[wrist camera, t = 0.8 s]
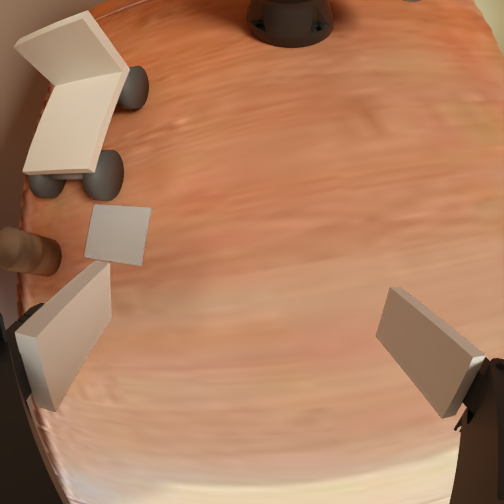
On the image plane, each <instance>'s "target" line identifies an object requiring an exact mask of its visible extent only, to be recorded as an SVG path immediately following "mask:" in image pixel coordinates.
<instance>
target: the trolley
mask: <svg viewBox="0 0 504 504" xmlns="http://www.w3.org/2000/svg"><path fill="white" fill-rule="evenodd" d="M14 48H15V49H16V50H17V51H18V52H19V53H20V54H21V55H22V56H23V57H24V58H25V59H26V60H28V61H29V62H30V63H31V64H32V65H33V66H34V67H35V68H36V69H37V70H38V71H39V72H40V73H41V74H42V75H44V76H45V77H46V78H47V79H48V80H49V81H50V82H51V83H52V84H53V85H54V86H55V88H54V90H53V92H52V94H51V96H50V99H49V101H48V103H47V105H46V108H45V110H44V113H43V115H42V117H41V120H40V122H39V125H38V128H37V130H36V133H35V136H34V138H33V141H32V144H31V147H30V150H29V153H28V156H27V159H26V163H25V165H24V168H23V173H25V174H27V175H28V182H29V187H30V189H31V191H32V193H33V194H34V195H35V196H37V197H39V198H54V197H56V196H58V195H59V194H60V193H61V191H62V190H63V188H64V185H65V182H66V179H83V186H84V189H85V192H86V193H87V195H88V196H89V197H90V198H91V199H94V200H112V199H114V198H115V197H116V196H117V195H118V193H119V192H120V189H121V187H122V183H123V178H124V167H123V162H122V159H121V157H120V155H119V154H118V153H117V152H116V151H114V150H101V149H102V145H103V142H104V139H105V136H106V133H107V130H108V127H109V124H110V121H111V118H112V115H113V112H114V109H115V107H116V104H117V105H118V106H119V107H120V108H121V109H124V110H126V109H137V108H141V107H142V106H143V105H144V104H145V102H146V100H147V97H148V92H149V82H148V77H147V74H146V72H145V70H144V69H143V68H142V67H140V66H134V67H128V66H127V64H126V63H125V62H124V60H123V59H122V57H121V56H120V55H119V53H118V52H117V50H116V49H115V48H114V46H113V45H112V43H111V42H110V40H109V39H108V38H107V36H106V35H105V33H104V32H103V31H102V29H101V28H100V26H99V25H98V24H97V22H96V21H95V19H94V18H93V17H92V15H91V14H90V12H89V11H85V12H82V13H79V14H76V15H74V16H71V17H68V18H66V19H63V20H61V21H58V22H56V23H53V24H51V25H49V26H46V27H44V28H42V29H39V30H37V31H35V32H33V33H31V34H29V35H27V36H25V37H23V38H20V39H19V40H18V41H17V43H16V44H15V46H14Z"/></svg>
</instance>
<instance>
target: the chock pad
mask: <svg viewBox="0 0 504 504" xmlns="http://www.w3.org/2000/svg"><path fill="white" fill-rule="evenodd" d="M151 210H152V208H147V207H132V206H115V205H97V204H94V207H93V212H92V216H91V221H90V226H89V231H88V237H87V242H86V248H85V254H84V257H85V258H91V259H98V260H104V261H110V262H117V263H123V264H130V265H137V266H142V262H143V255H144V249H145V243H146V237H147V232H148V226H149V221H150V216H151Z"/></svg>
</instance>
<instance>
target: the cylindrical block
mask: <svg viewBox="0 0 504 504" xmlns="http://www.w3.org/2000/svg"><path fill="white" fill-rule="evenodd" d="M60 263H61V249H60V246H59V244H58V243H57V242H56V241H55V240H53V239H49V238H46V237H42V236H39V235H36V234H32V233H29V232H26V231H22V230H19V229H16V228H12V227H9V226H8V227H5V228H3V229H2V230H1V231H0V269H2V270H9V271H15V272H21V273H28V274H34V275H41V276H51V275H53V274H54V273H55V272H56V271H57V270H58V268H59V266H60Z"/></svg>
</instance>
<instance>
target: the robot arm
mask: <svg viewBox="0 0 504 504" xmlns="http://www.w3.org/2000/svg"><path fill="white" fill-rule="evenodd" d="M404 1H408V2H418V1H420V0H404ZM247 22H248V27H249V29H250V31H251V33H252V34H253V35H254V36H255V37H256V38H258V39H260V40H261V41H263V42H266V43H268V44H271V45H275V46H281V47H304V46H309V45H313V44H316V43H318V42H321V41H322V40H324V39H326V38H327V37H328V36H329V35H330V34H331V32H332V30H333V25H334V14H333V11H332V8H331V5H330V2H329V0H250V3H249V7H248V11H247ZM111 319H112V310H111V288H110V262H102V261H93V262H92V263H91V264H90V265H89V266H87V267H86V268H85V269H84V270H83V271H82V272H80V273H79V274H78V275H77V276H76V277H75V278H73V279H72V280H71V281H70V282H69V283H68V284H66V285H65V286H64V287H63V288H62V289H61V290H60V291H58V292H57V293H56V294H55V295H54V296H53V297H52V298H51V299H50V300H48V301H47V302H46V303H45V304H44V303H40V304H38V305H36V306H33V307H31V308H30V309H29V310H28V311H27V312H25V313H24V315H22V316H21V317H20V318H19V319H18V321H15V322H14V323H13V324H12V325H11V326H10V327H9V328H8V329H7V330H6V331H5V327H4V322H3V317H2V315H1V313H0V504H70V502H69V501H68V499H67V497H66V495H65V493H64V491H63V489H62V487H61V485H60V483H59V481H58V479H57V477H56V475H55V473H54V471H53V468H52V466H51V464H50V462H49V459H48V457H47V455H46V452H45V450H44V448H43V445H42V443H41V440H40V438H39V435H38V432H37V430H36V427H35V424H34V421H33V418H32V416H31V413H30V410H29V407H28V404H27V401H26V400H27V398H28V397H29V395H30V394H31V393H32V396H33V399H34V402H35V404H36V406H37V407H40V408H44V409H47V410H50V411H53V412H56V411H57V409H58V407H59V405H60V404H61V402H62V400H63V398H64V397H65V395H66V393H67V391H68V389H69V388H70V386H71V384H72V382H73V381H74V379H75V377H76V376H77V374H78V372H79V371H80V369H81V367H82V365H83V364H84V362H85V360H86V359H87V357H88V356H89V354H90V352H91V351H92V349H93V347H94V346H95V344H96V343H97V341H98V339H99V338H100V336H101V335H102V333H103V331H104V330H105V328H106V327H107V325H108V324H109V322H110V320H111ZM376 337H377V339H378V340H379V341H380V342H381V343H382V345H383V346H384V347H385V348H386V349H387V351H388V352H389V353H390V354H391V355H392V357H393V358H394V359H395V360H396V362H397V363H398V364H399V365H400V367H401V368H402V369H403V370H404V371H405V373H406V374H407V375H408V376H409V378H410V379H411V380H412V381H413V383H414V384H415V385H416V386H417V388H418V389H419V390H420V391H421V393H422V394H423V395H424V397H425V398H426V399H427V400H428V402H429V403H430V404H431V405H432V407H433V408H434V409H435V411H436V412H437V413H438V414H439V416H440V417H441V418H446V417H450V416H454V415H456V413H457V411H458V409H459V408H460V406H461V404H462V402H463V403H464V405H465V406H466V407H467V408H466V410H465V411H464V413H463V415H462V416H461V418H460V420H459V421H458V423H457V425H456V426H455V428H454V430H455V431H456V430H457V428H458V427H460V426H462V427H461V429H460V431H459V432H461V437H460V446H459V454H458V461H457V467H456V473H455V479H454V484H453V490H452V494H451V499H450V504H504V359H499V358H493V359H492V360H491V361H489V360H488V359H487V358H486V357H485V356H486V355H485V354H484V353H483V352H481V351H480V350H479V349H478V348H477V347H475V346H474V345H473V344H472V343H471V342H469V341H468V340H467V339H466V338H465V337H463V336H462V335H461V334H460V333H459V332H457V331H456V330H455V329H454V328H452V327H451V326H450V325H449V324H448V323H446V322H445V321H444V320H443V319H441V318H440V317H439V316H438V315H436V314H435V313H434V312H432V311H431V310H430V309H429V308H427V307H426V306H425V305H424V304H422V303H421V302H420V301H418V300H417V299H416V298H415V297H413V296H412V295H411V294H409V293H408V292H407V291H405V290H404V289H403V288H396V287H390V288H389V292H388V295H387V299H386V303H385V306H384V310H383V313H382V317H381V320H380V323H379V327H378V330H377V333H376Z"/></svg>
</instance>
